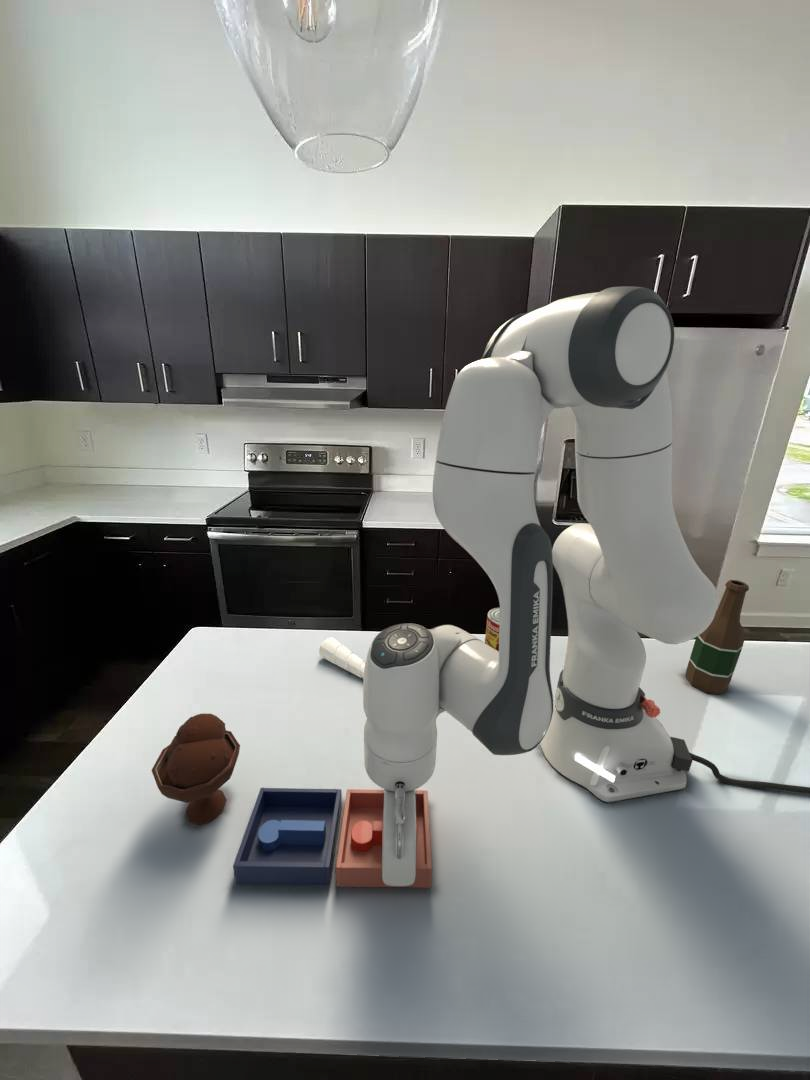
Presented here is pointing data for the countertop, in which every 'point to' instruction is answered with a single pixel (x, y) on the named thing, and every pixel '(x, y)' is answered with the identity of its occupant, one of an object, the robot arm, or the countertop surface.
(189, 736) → the ice cream bowl
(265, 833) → the blue elongated piece
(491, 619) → the canned food
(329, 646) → the unicorn horn
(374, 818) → the red bin
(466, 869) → the countertop surface
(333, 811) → the blue bin
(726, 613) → the beer bottle
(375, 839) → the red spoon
